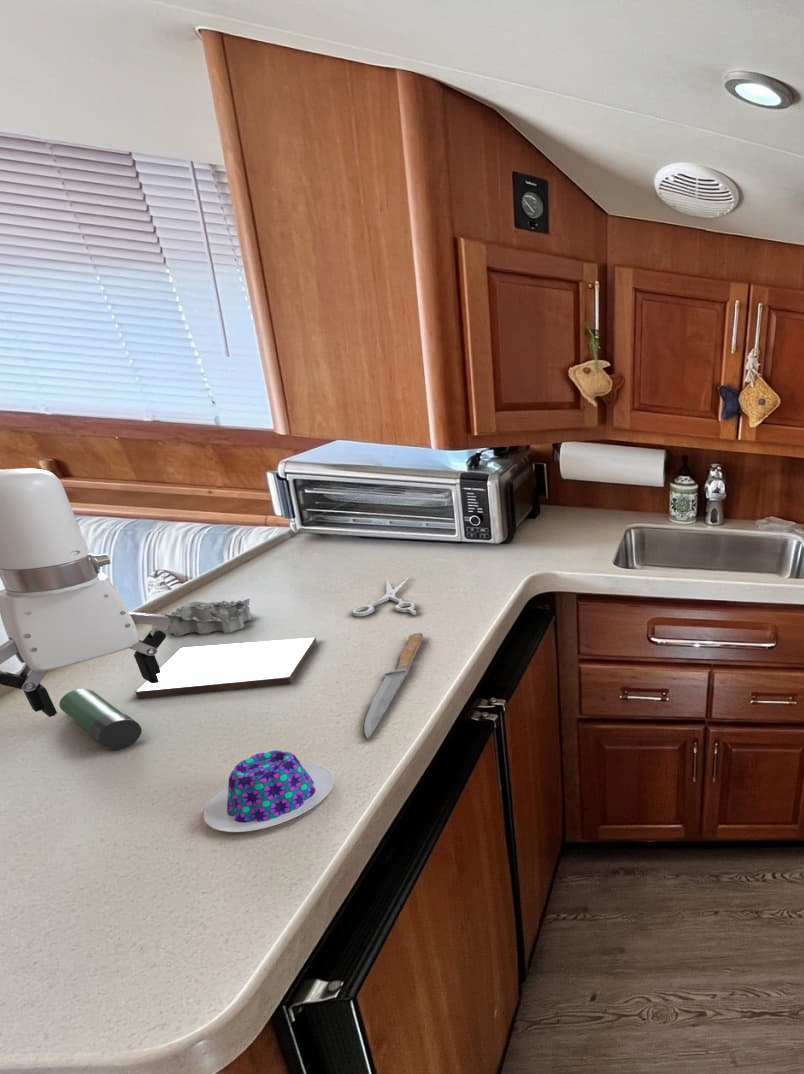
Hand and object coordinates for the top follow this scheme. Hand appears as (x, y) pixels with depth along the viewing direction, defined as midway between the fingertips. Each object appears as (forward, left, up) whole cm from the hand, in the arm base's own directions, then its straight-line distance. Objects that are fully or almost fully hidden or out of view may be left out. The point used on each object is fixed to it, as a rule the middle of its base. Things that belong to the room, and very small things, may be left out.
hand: (102, 695), depth 83 cm
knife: (+31, +4, -5) cm, 32 cm away
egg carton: (-1, +32, -5) cm, 32 cm away
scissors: (+25, +40, -5) cm, 48 cm away
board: (+8, +14, -5) cm, 17 cm away
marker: (-1, 0, -5) cm, 5 cm away
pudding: (+23, -22, -5) cm, 32 cm away
